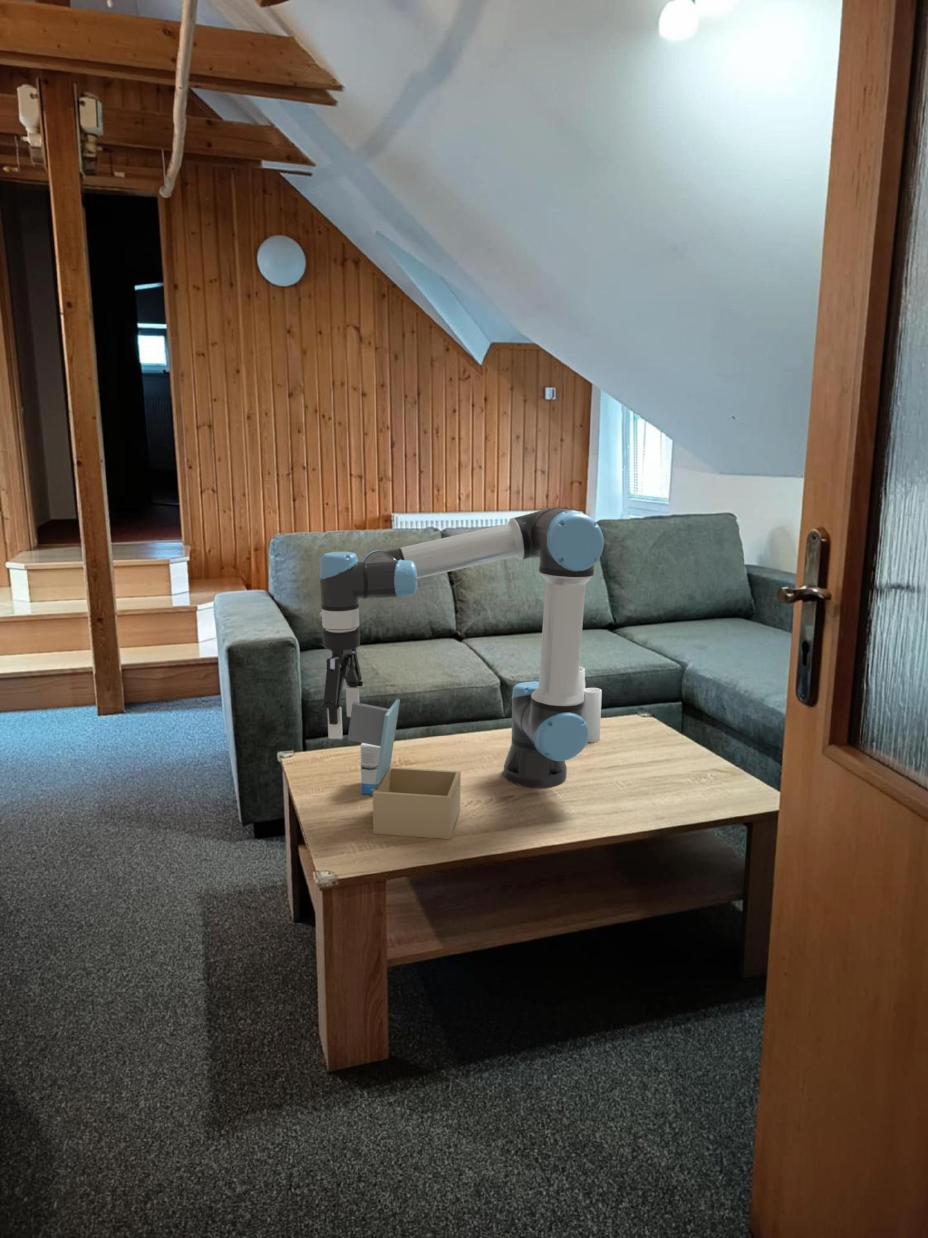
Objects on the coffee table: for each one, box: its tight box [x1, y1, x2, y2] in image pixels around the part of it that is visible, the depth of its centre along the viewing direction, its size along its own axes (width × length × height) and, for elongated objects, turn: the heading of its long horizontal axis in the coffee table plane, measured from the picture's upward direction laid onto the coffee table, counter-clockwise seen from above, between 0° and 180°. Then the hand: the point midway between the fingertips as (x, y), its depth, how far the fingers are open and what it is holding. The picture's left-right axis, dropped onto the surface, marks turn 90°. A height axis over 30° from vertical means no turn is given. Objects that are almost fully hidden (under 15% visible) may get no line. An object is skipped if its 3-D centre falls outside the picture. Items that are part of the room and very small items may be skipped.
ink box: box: [360, 743, 380, 796], centre depth 197 cm, size 8×5×12 cm, turn 168°
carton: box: [372, 766, 462, 840], centre depth 180 cm, size 16×14×9 cm
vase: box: [578, 666, 603, 743], centre depth 229 cm, size 11×7×20 cm, turn 111°
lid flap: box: [347, 698, 401, 790], centre depth 179 cm, size 16×11×9 cm
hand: (344, 727), depth 179 cm, fingers open, 13 cm apart
